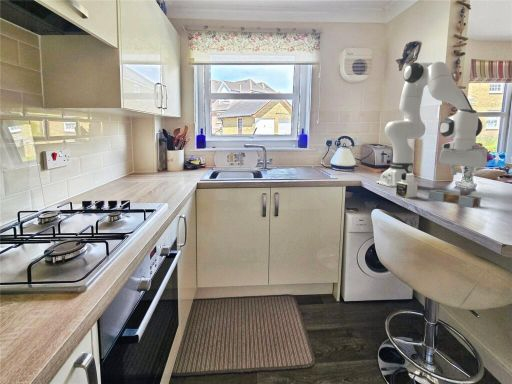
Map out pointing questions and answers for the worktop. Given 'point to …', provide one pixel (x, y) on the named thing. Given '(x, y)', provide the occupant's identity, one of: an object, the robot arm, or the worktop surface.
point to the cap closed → (437, 195)
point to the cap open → (468, 201)
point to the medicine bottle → (407, 186)
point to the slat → (456, 198)
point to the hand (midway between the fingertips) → (460, 175)
